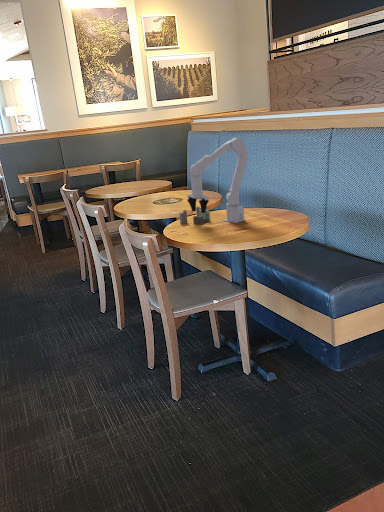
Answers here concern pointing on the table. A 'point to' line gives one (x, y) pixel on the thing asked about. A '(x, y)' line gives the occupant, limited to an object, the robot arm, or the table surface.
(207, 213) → the door
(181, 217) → the door frame
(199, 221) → the wedge
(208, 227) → the table surface
